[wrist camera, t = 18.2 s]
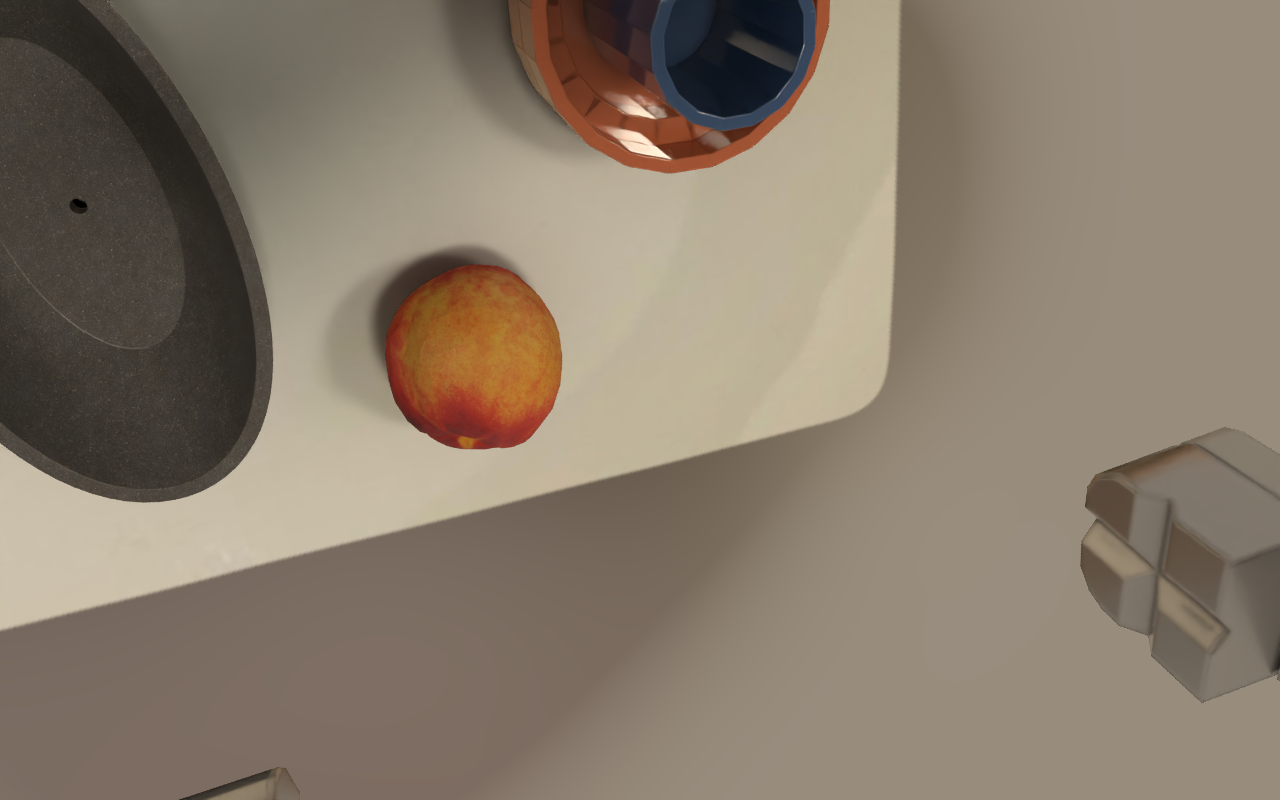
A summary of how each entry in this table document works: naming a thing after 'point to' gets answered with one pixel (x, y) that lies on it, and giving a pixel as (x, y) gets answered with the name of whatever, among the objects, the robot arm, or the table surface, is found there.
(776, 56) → the cup
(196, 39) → the table surface
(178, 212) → the bowl
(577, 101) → the terracotta bowl
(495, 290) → the fruit
